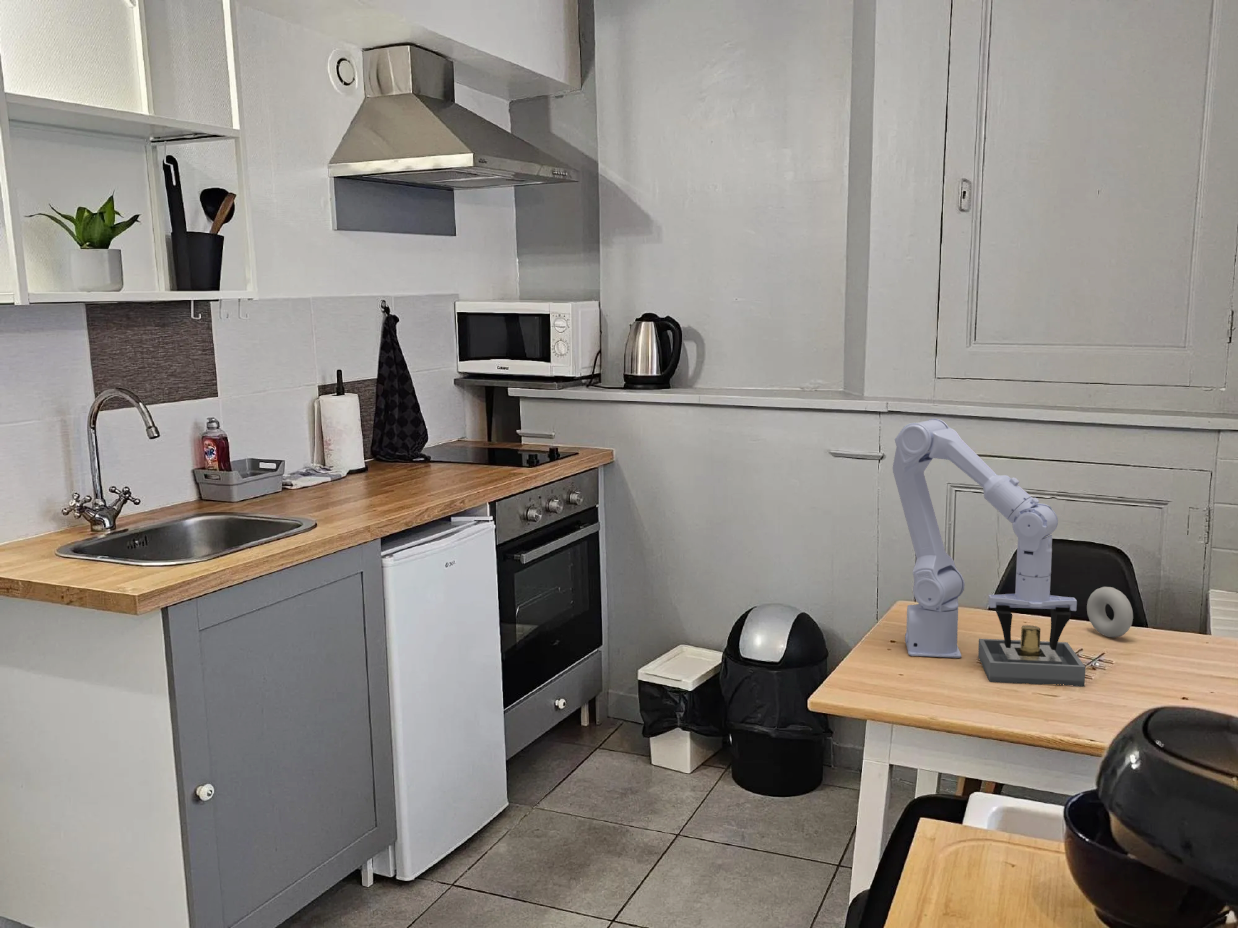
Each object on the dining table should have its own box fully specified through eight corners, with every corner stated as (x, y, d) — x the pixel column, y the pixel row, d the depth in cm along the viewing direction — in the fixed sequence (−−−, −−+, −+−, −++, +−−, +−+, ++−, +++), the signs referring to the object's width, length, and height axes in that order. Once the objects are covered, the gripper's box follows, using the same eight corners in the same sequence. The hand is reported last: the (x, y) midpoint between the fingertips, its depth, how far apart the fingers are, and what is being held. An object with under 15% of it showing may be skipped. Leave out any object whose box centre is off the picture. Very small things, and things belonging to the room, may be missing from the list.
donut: (1081, 630, 213) (1084, 582, 211) (1094, 628, 214) (1096, 580, 213) (1122, 644, 204) (1125, 594, 202) (1135, 642, 205) (1138, 592, 203)
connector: (1021, 668, 189) (1023, 630, 187) (1018, 662, 192) (1019, 624, 191) (1040, 668, 188) (1042, 630, 187) (1036, 663, 191) (1038, 625, 190)
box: (989, 681, 185) (990, 662, 184) (978, 656, 198) (978, 638, 197) (1084, 686, 182) (1085, 666, 181) (1066, 660, 195) (1067, 642, 195)
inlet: (1007, 672, 186) (1007, 659, 186) (998, 656, 195) (999, 643, 195) (1061, 675, 185) (1062, 661, 184) (1050, 658, 193) (1051, 645, 193)
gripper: (994, 577, 185) (991, 652, 187) (1082, 580, 182) (1078, 656, 184) (987, 567, 192) (985, 640, 194) (1072, 570, 189) (1069, 643, 191)
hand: (1030, 647), depth 189 cm, fingers open, 7 cm apart
